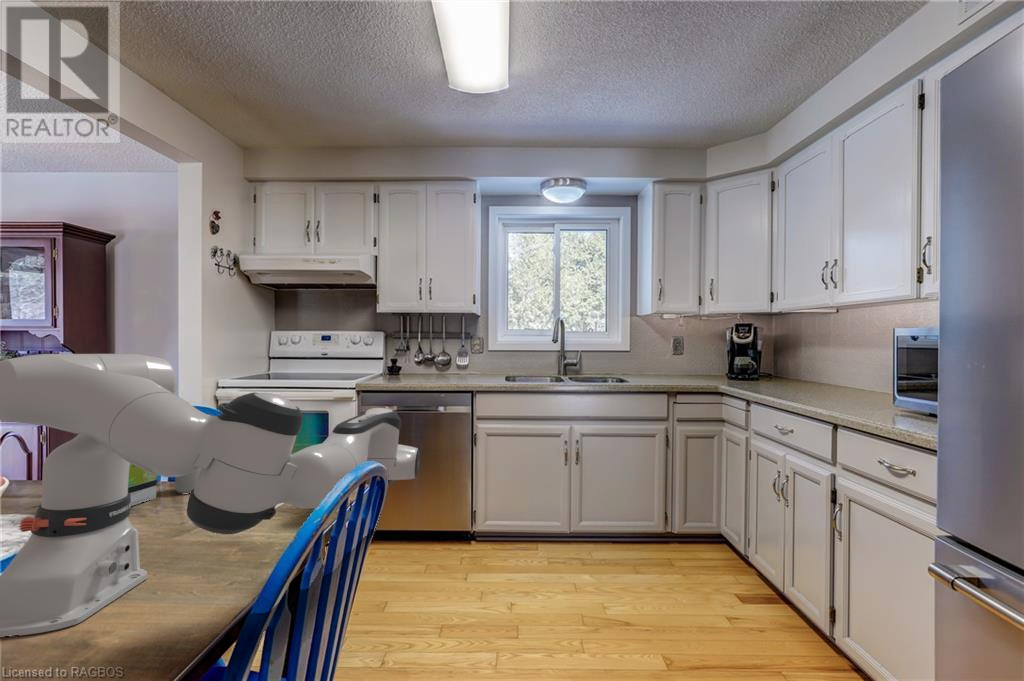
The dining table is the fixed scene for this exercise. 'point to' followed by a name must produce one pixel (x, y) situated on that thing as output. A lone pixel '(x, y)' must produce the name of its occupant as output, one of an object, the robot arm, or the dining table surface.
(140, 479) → the tea box
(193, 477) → the can
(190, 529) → the dining table surface
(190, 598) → the dining table surface
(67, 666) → the dining table surface
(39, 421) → the robot arm
